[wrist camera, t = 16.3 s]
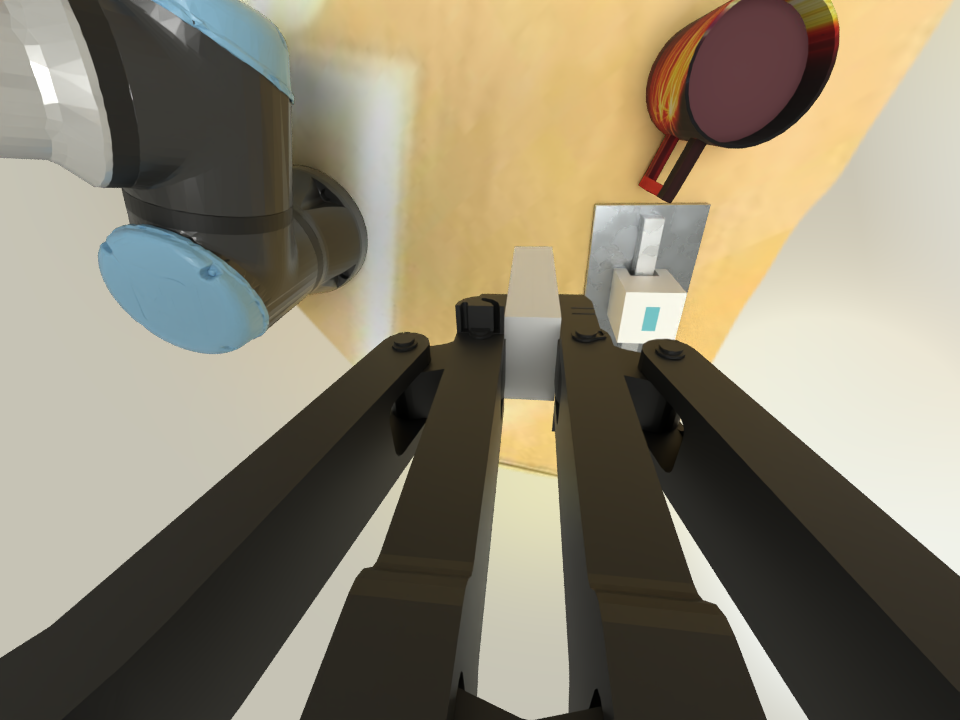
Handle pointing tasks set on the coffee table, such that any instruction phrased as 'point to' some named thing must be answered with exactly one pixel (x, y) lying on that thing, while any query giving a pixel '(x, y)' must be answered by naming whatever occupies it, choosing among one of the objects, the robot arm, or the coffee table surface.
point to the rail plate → (622, 245)
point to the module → (645, 306)
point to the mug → (737, 79)
